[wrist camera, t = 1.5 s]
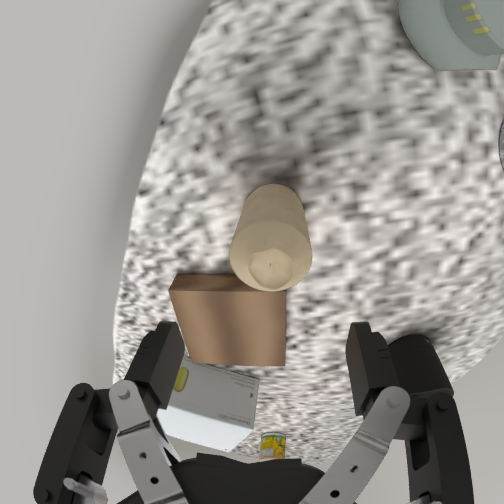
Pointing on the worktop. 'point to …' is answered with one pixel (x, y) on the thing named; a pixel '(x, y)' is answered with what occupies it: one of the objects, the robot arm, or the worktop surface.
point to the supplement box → (210, 406)
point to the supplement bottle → (272, 446)
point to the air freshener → (455, 32)
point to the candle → (271, 240)
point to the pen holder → (419, 367)
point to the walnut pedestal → (229, 320)
